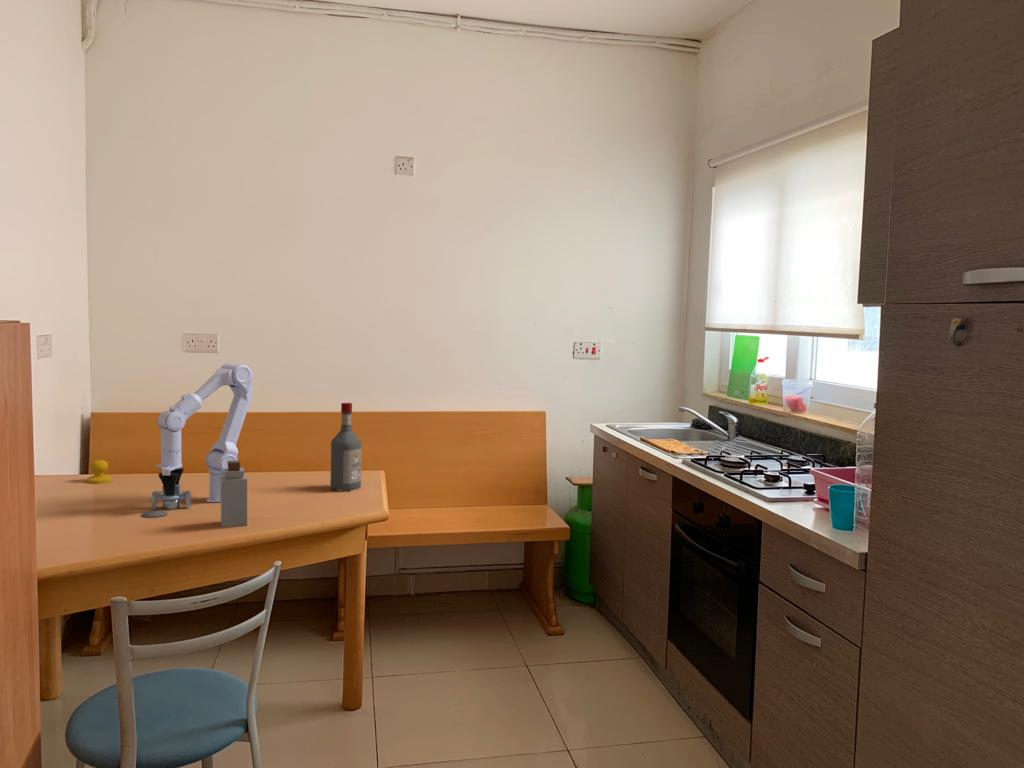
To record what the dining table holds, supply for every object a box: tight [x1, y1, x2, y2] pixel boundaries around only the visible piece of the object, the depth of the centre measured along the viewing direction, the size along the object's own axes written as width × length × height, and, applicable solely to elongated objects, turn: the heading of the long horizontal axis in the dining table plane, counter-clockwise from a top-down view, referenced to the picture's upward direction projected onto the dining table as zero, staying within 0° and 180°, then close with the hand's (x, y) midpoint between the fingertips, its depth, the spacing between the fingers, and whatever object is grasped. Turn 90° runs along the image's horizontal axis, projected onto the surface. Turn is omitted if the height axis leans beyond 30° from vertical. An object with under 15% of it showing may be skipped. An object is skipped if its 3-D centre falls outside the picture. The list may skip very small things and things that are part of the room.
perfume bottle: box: [220, 460, 248, 529], centre depth 226 cm, size 7×7×18 cm
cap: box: [157, 484, 186, 501], centre depth 241 cm, size 8×6×4 cm
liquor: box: [329, 402, 362, 492], centre depth 274 cm, size 9×9×30 cm
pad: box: [141, 510, 169, 519], centre depth 233 cm, size 7×7×1 cm
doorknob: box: [86, 459, 113, 485], centre depth 275 cm, size 8×8×8 cm
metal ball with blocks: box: [151, 490, 192, 511], centre depth 242 cm, size 11×5×5 cm, turn 101°
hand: (171, 494), depth 241 cm, fingers open, 4 cm apart
